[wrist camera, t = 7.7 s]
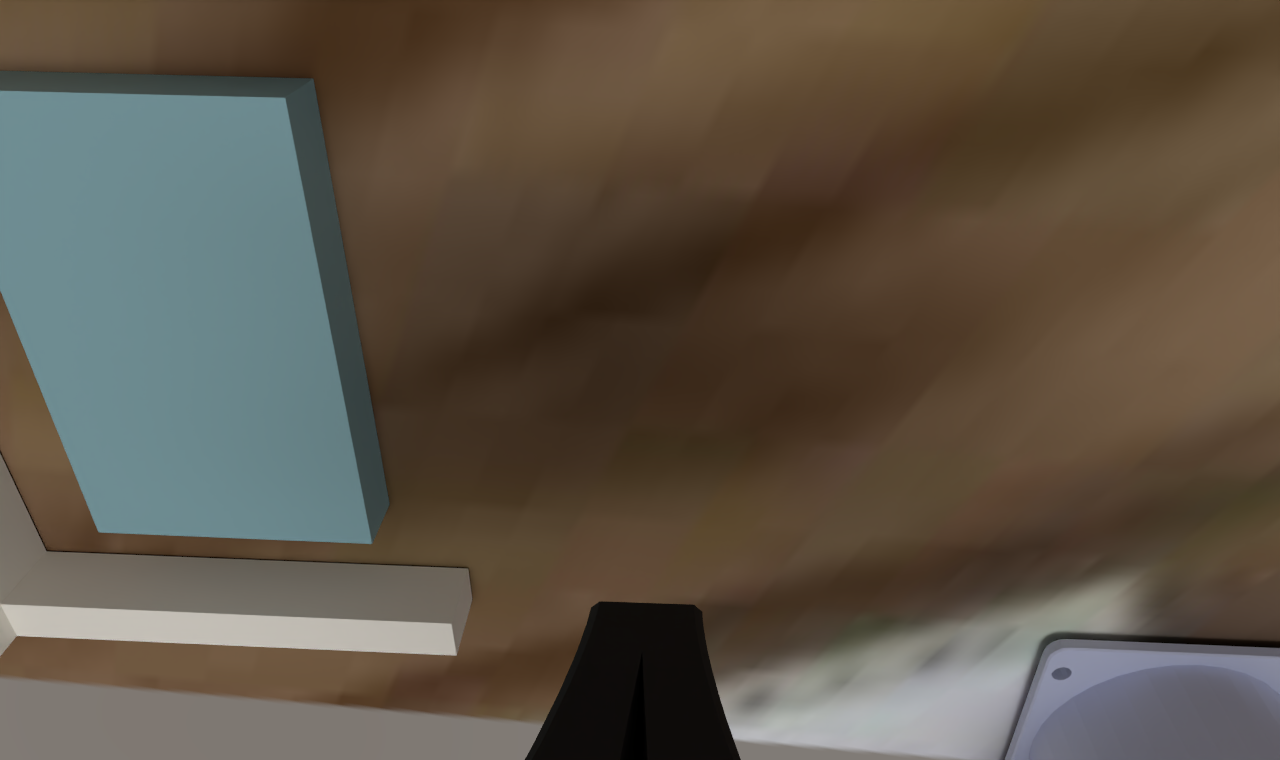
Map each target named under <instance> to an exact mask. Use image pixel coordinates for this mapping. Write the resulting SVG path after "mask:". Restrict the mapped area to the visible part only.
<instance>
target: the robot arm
mask: <svg viewBox="0 0 1280 760" xmlns="http://www.w3.org/2000/svg"><path fill="white" fill-rule="evenodd" d="M525 760H741V759H740V757H739V754H738V751H737V748H736V745H735V742H734V740H733V737H732V734H731V731H730V728H729V725H728V723H727V720H726V717H725V714H724V710H723V707H722V704H721V701H720V697H719V694H718V690H717V687H716V683H715V679H714V676H713V672H712V668H711V664H710V660H709V656H708V651H707V646H706V640H705V634H704V628H703V618H702V611H701V610H699V609H698V608H697V607H696V606H695V605H685V604H656V603H628V602H598V603H597V604H596V605H594V606H593V607H591V610H590V614H589V618H588V621H587V625H586V628H585V630H584V633H583V636H582V639H581V642H580V644H579V647H578V650H577V652H576V655H575V657H574V660H573V662H572V664H571V667H570V669H569V671H568V674H567V676H566V678H565V680H564V683H563V685H562V687H561V689H560V692H559V694H558V696H557V698H556V700H555V702H554V704H553V706H552V708H551V710H550V712H549V714H548V716H547V718H546V720H545V722H544V724H543V726H542V728H541V730H540V732H539V734H538V736H537V738H536V740H535V742H534V744H533V746H532V748H531V750H530V752H529V753H528V755H527V757H526V759H525ZM1005 760H1280V648H1265V647H1242V646H1219V645H1195V644H1172V643H1148V642H1125V641H1102V640H1078V639H1059V640H1056V641H1053V642H1051V643H1050V644H1049V645H1047V646H1046V648H1045V649H1044V651H1043V654H1042V657H1041V659H1040V662H1039V665H1038V668H1037V671H1036V673H1035V676H1034V679H1033V682H1032V685H1031V687H1030V690H1029V693H1028V696H1027V699H1026V701H1025V704H1024V707H1023V710H1022V713H1021V716H1020V718H1019V721H1018V724H1017V727H1016V730H1015V732H1014V735H1013V738H1012V741H1011V744H1010V746H1009V749H1008V752H1007V755H1006V758H1005Z"/></svg>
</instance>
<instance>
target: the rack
mask: <svg viewBox="0 0 1280 760" xmlns="http://www.w3.org/2000/svg"><path fill="white" fill-rule="evenodd" d="M471 603H472V593H471V585H470V578H469V571H468V568H444V567H419V566H395V565H370V564H346V563H321V562H296V561H272V560H247V559H222V558H198V557H173V556H149V555H124V554H99V553H75V552H50V551H46V549H45V547H44V545H43V543H42V541H41V539H40V537H39V535H38V532H37V530H36V528H35V526H34V524H33V522H32V520H31V518H30V515H29V513H28V511H27V509H26V507H25V505H24V503H23V501H22V498H21V496H20V494H19V492H18V490H17V488H16V486H15V484H14V481H13V479H12V477H11V475H10V473H9V471H8V469H7V467H6V465H5V462H4V460H3V458H2V456H1V454H0V656H1V654H2V653H3V652H4V651H5V650H6V648H7V647H8V646H9V645H10V644H11V642H12V641H13V640H14V639H15V637H16V636H32V637H55V638H77V639H99V640H122V641H144V642H166V643H189V644H211V645H233V646H255V647H278V648H300V649H322V650H345V651H367V652H389V653H411V654H434V655H456V656H457V652H458V649H459V645H460V641H461V638H462V634H463V631H464V627H465V624H466V620H467V617H468V613H469V610H470V606H471Z"/></svg>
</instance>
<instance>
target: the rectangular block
mask: <svg viewBox="0 0 1280 760" xmlns="http://www.w3.org/2000/svg"><path fill="white" fill-rule="evenodd" d="M0 291H1V293H2V296H3V298H4V300H5V303H6V305H7V308H8V310H9V313H10V315H11V318H12V320H13V323H14V325H15V328H16V330H17V333H18V335H19V337H20V340H21V342H22V345H23V347H24V350H25V352H26V355H27V357H28V360H29V362H30V365H31V367H32V369H33V372H34V374H35V377H36V379H37V382H38V384H39V387H40V389H41V392H42V394H43V397H44V399H45V401H46V404H47V406H48V409H49V411H50V414H51V416H52V419H53V421H54V424H55V426H56V429H57V431H58V434H59V436H60V438H61V441H62V443H63V446H64V448H65V451H66V453H67V456H68V458H69V461H70V463H71V466H72V468H73V470H74V473H75V475H76V478H77V480H78V483H79V485H80V488H81V490H82V493H83V495H84V498H85V500H86V503H87V505H88V507H89V510H90V512H91V515H92V517H93V520H94V522H95V525H96V527H97V530H98V532H104V533H127V534H151V535H174V536H198V537H222V538H245V539H269V540H293V541H316V542H340V543H363V544H372V543H373V541H374V539H375V536H376V534H377V532H378V530H379V527H380V525H381V523H382V520H383V518H384V516H385V514H386V511H387V509H388V507H389V505H390V504H389V498H388V492H387V487H386V481H385V476H384V470H383V465H382V459H381V453H380V448H379V442H378V437H377V431H376V426H375V420H374V414H373V409H372V403H371V398H370V392H369V387H368V381H367V375H366V370H365V364H364V359H363V353H362V348H361V342H360V336H359V331H358V325H357V320H356V314H355V309H354V303H353V297H352V292H351V286H350V281H349V275H348V270H347V264H346V258H345V253H344V247H343V242H342V236H341V231H340V225H339V219H338V214H337V208H336V203H335V197H334V191H333V186H332V180H331V175H330V169H329V164H328V158H327V152H326V147H325V141H324V136H323V130H322V125H321V119H320V113H319V108H318V102H317V97H316V91H315V86H314V80H313V79H312V78H272V77H232V76H192V75H152V74H112V73H71V72H31V71H0Z"/></svg>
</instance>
